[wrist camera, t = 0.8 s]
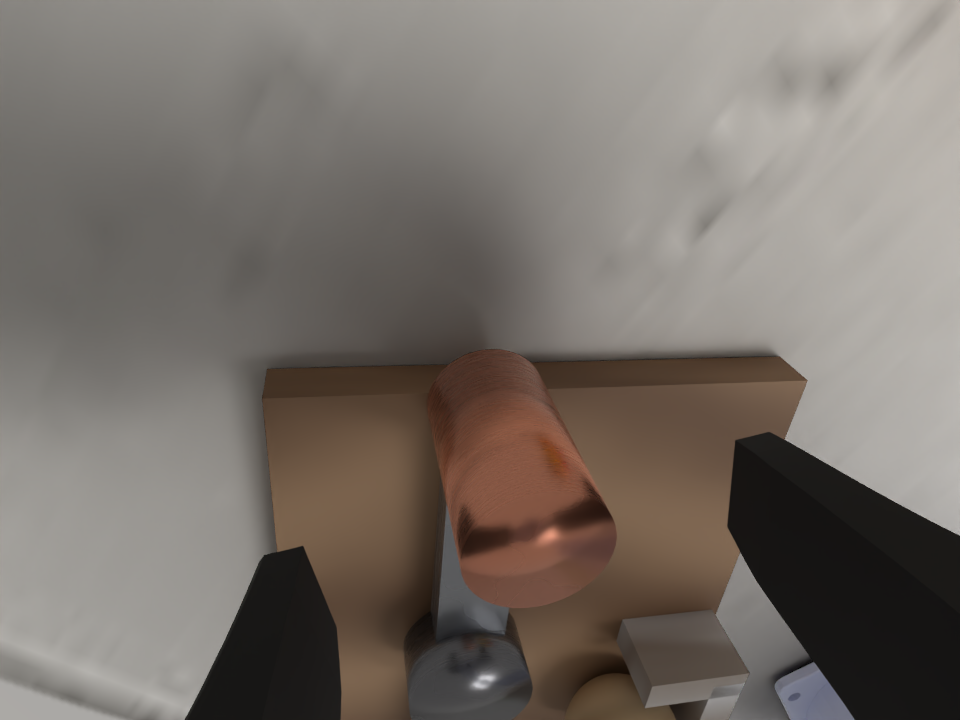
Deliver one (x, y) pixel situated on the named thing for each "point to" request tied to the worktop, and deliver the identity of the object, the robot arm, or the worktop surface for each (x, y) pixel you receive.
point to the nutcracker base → (618, 476)
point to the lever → (498, 535)
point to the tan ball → (613, 701)
